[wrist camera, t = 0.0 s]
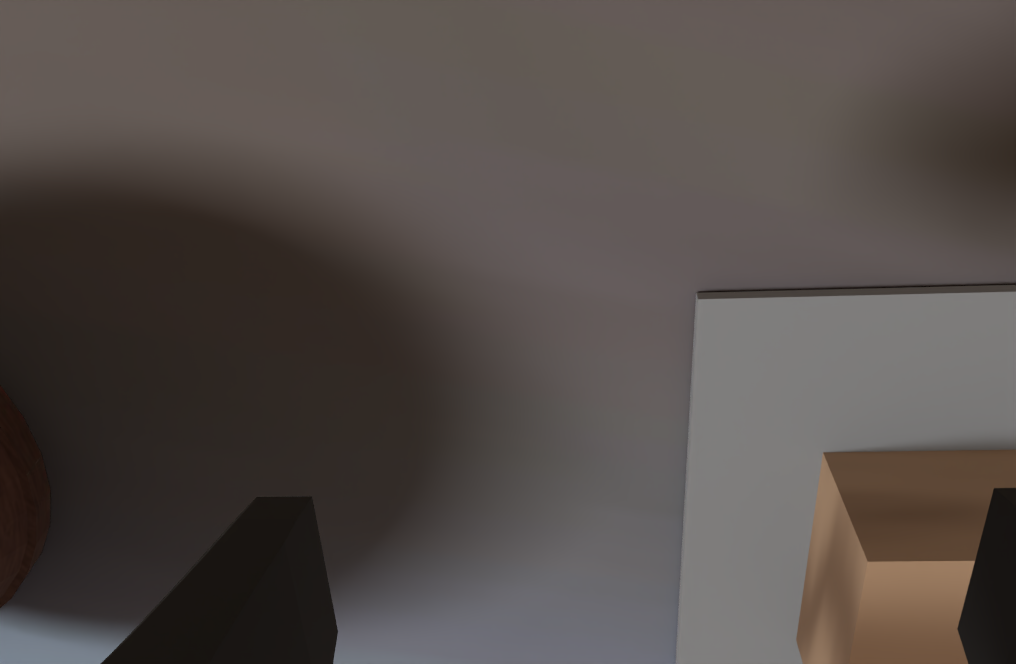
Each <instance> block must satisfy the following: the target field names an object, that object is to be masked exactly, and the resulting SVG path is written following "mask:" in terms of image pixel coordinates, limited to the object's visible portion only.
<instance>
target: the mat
mask: <svg viewBox="0 0 1016 664" xmlns="http://www.w3.org/2000/svg"><path fill="white" fill-rule="evenodd" d="M957 450H1016V285H988V286H947V287H907V288H866V289H826V290H785V291H745V292H704V293H696V305H695V323H694V341H693V359H692V377H691V394H690V412H689V430H688V448H687V466H686V484H685V502H684V520H683V538H682V556H681V574H680V592H679V610H678V628H677V646H676V663H675V664H803V662H802V659H801V655H800V652H799V648H798V645H797V641H796V637H797V630H798V623H799V616H800V609H801V602H802V595H803V588H804V581H805V574H806V567H807V560H808V553H809V547H810V540H811V533H812V526H813V519H814V512H815V505H816V498H817V491H818V484H819V477H820V470H821V463H822V456H823V452H890V451H957Z"/></svg>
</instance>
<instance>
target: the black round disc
mask: <svg viewBox="0 0 1016 664" xmlns="http://www.w3.org/2000/svg"><path fill="white" fill-rule="evenodd" d="M50 504H51V490H50V486H49V482H48V478H47V474H46V470H45V466H44V462H43V458H42V454H41V452H40V450H39V448H38V446H37V444H36V442H35V440H34V438H33V436H32V434H31V432H30V430H29V428H28V425H27V423H26V421H25V419H24V417H23V416H22V415H21V413H20V412H19V411H18V409H17V408H16V406H15V405H14V404H13V402H12V401H11V400H10V398H9V397H8V395H7V394H6V393H5V391H4V390H3V389H2V387H1V386H0V608H1V607H2V606H3V605H4V604H6V603H7V602H8V601H9V600H10V599H11V598H12V597H13V595H14V594H15V592H16V591H17V589H18V588H19V586H20V585H21V583H22V582H23V580H24V579H25V577H26V576H27V574H28V573H29V571H30V570H31V568H32V567H33V565H34V564H35V562H36V561H37V559H38V558H39V556H40V555H41V553H42V550H43V547H44V543H45V540H46V537H47V533H48V530H49V527H50Z"/></svg>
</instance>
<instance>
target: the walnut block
mask: <svg viewBox="0 0 1016 664" xmlns="http://www.w3.org/2000/svg"><path fill="white" fill-rule="evenodd" d="M994 488H1016V450H957V451H890V452H823V456H822V463H821V470H820V477H819V484H818V491H817V498H816V505H815V512H814V519H813V526H812V533H811V540H810V547H809V553H808V560H807V567H806V574H805V581H804V588H803V595H802V602H801V609H800V616H799V623H798V630H797V637H796V641H797V645H798V648H799V652H800V655H801V659H802V662H803V664H968V661H967V658H966V655H965V652H964V648H963V645H962V642H961V639H960V636H959V633H958V630H957V628H958V624H959V620H960V617H961V613H962V609H963V605H964V601H965V597H966V594H967V590H968V586H969V582H970V578H971V574H972V570H973V567H974V563H975V559H976V555H977V551H978V547H979V544H980V540H981V536H982V532H983V528H984V524H985V521H986V517H987V513H988V509H989V505H990V501H991V497H992V494H993V490H994Z"/></svg>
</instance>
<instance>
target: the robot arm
mask: <svg viewBox="0 0 1016 664" xmlns="http://www.w3.org/2000/svg"><path fill="white" fill-rule="evenodd" d="M957 630H958V633H959V636H960V639H961V642H962V645H963V648H964V652H965V655H966V658H967V661H968V664H1016V488H994V490H993V494H992V497H991V501H990V505H989V509H988V513H987V517H986V521H985V524H984V528H983V532H982V536H981V540H980V544H979V547H978V551H977V555H976V559H975V563H974V567H973V570H972V574H971V578H970V582H969V586H968V590H967V594H966V597H965V601H964V605H963V609H962V613H961V617H960V620H959V624H958V628H957ZM337 634H338V630H337V625H336V619H335V614H334V609H333V604H332V599H331V593H330V588H329V583H328V578H327V573H326V568H325V562H324V557H323V552H322V547H321V542H320V536H319V531H318V526H317V521H316V516H315V510H314V505H313V500H312V497H257V498H256V499H255V500H254V501H253V502H252V503H251V504H250V505H249V506H248V507H247V508H246V509H245V510H244V511H243V512H242V513H241V514H240V515H239V516H238V518H237V519H236V520H235V521H234V522H233V523H232V524H231V525H230V526H229V527H228V529H227V530H226V531H225V532H224V533H223V534H222V535H221V536H220V537H219V539H218V540H217V541H216V542H215V543H214V544H213V545H212V546H211V547H210V549H209V550H208V551H207V552H206V553H205V554H204V555H203V556H202V557H201V559H200V560H199V561H198V562H197V563H196V564H195V565H194V566H193V567H192V568H191V570H190V571H189V572H188V573H187V574H186V575H185V576H184V577H183V578H182V579H181V581H180V582H179V583H178V584H177V585H176V586H175V587H174V588H173V589H172V590H171V591H170V593H169V594H168V595H167V596H166V597H165V598H164V599H163V600H162V601H161V602H160V603H159V604H158V605H157V606H156V607H155V608H154V609H153V610H152V611H151V613H150V614H149V615H148V616H147V617H146V618H145V619H144V620H143V621H142V622H141V623H140V624H139V625H138V626H137V627H136V628H135V629H134V630H133V631H132V633H131V634H130V635H129V636H128V637H127V638H126V639H125V640H124V641H123V642H122V643H121V644H120V645H119V646H118V647H117V648H116V649H115V650H114V651H113V652H112V653H111V654H110V655H109V656H108V657H107V658H106V659H105V660H104V661H103V662H102V663H101V664H333V659H334V653H335V647H336V640H337Z"/></svg>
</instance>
